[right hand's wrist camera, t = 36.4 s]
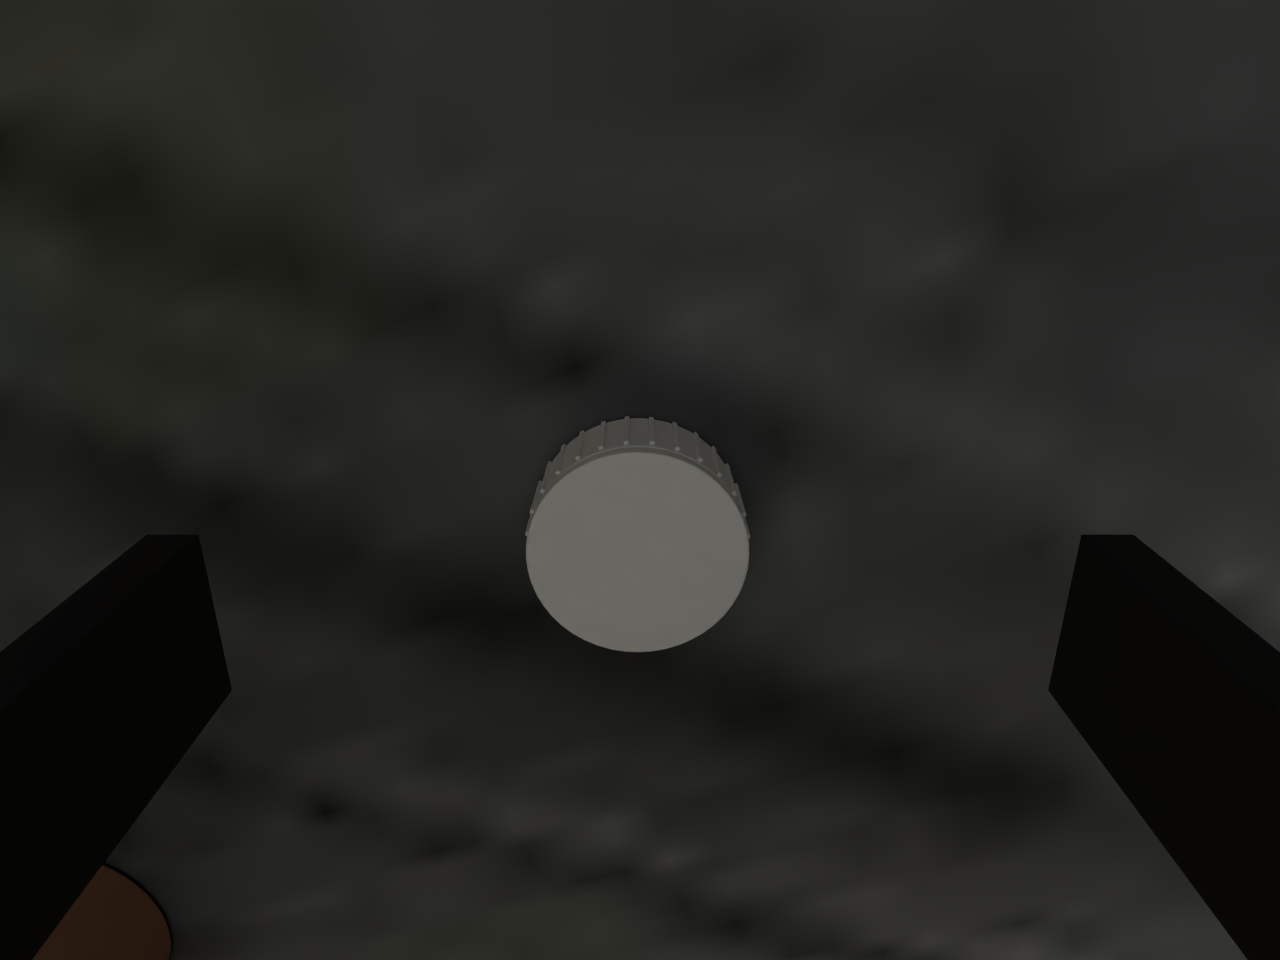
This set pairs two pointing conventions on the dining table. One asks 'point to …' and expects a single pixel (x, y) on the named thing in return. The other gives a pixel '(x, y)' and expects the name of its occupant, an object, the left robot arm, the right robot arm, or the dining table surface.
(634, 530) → the cap
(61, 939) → the bottle
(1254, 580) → the dining table surface
